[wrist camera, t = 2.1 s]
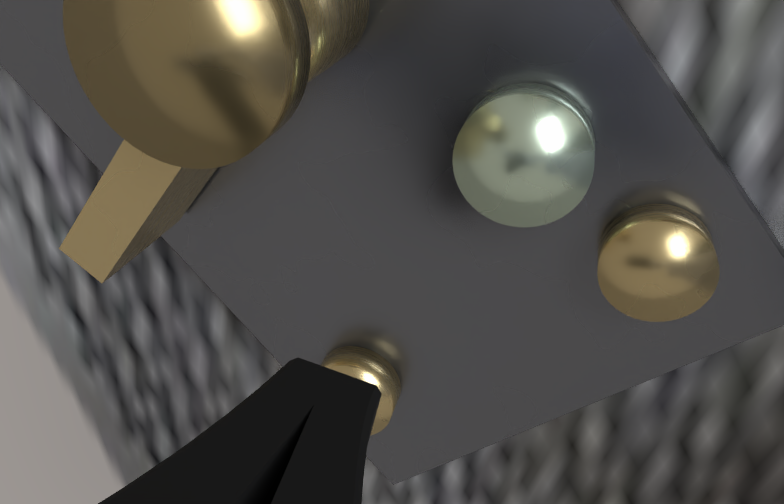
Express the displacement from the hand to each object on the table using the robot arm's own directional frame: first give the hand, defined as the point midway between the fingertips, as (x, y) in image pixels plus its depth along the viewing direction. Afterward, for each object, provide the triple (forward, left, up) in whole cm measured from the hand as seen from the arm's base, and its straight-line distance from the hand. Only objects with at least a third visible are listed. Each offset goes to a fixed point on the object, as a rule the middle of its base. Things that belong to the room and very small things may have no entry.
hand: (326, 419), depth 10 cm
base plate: (+3, -1, -6) cm, 7 cm away
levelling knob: (+5, 0, -5) cm, 7 cm away
